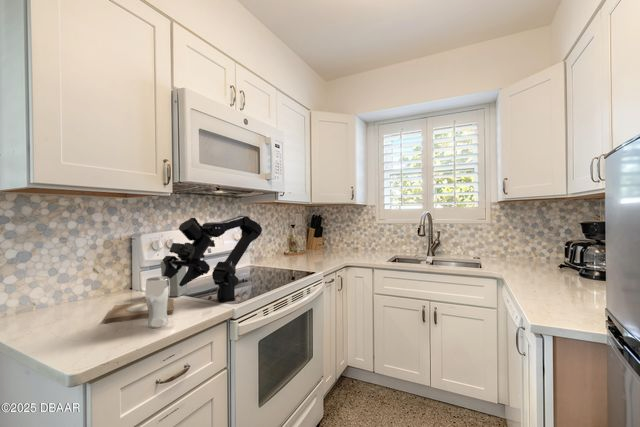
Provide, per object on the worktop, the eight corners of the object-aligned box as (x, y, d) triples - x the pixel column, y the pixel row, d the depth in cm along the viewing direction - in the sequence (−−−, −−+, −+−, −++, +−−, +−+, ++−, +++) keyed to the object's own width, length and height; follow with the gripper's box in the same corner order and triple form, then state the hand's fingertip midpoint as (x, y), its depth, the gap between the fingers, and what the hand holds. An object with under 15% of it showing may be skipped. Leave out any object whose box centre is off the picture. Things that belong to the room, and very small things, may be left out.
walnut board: (173, 302, 118) (173, 297, 118) (172, 314, 103) (172, 309, 103) (114, 309, 109) (114, 304, 109) (104, 323, 95) (104, 318, 95)
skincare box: (187, 293, 131) (187, 258, 131) (176, 297, 124) (176, 261, 124) (172, 292, 133) (172, 258, 133) (160, 296, 126) (160, 260, 126)
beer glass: (164, 319, 99) (164, 275, 99) (173, 323, 94) (173, 278, 94) (142, 325, 93) (141, 278, 93) (150, 330, 89) (150, 281, 89)
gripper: (167, 233, 107) (137, 268, 97) (203, 235, 99) (174, 272, 89) (185, 252, 114) (159, 286, 104) (220, 255, 106) (195, 292, 96)
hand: (171, 284), depth 98 cm, fingers open, 9 cm apart
